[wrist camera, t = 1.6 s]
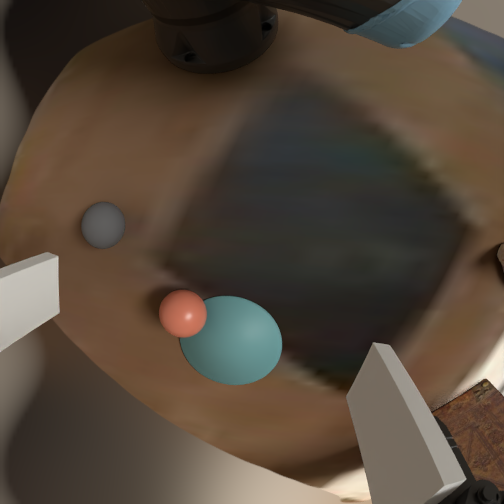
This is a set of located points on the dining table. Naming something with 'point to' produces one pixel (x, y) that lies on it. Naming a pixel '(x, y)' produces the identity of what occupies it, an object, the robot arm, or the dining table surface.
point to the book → (478, 430)
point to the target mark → (234, 342)
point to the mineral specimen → (501, 255)
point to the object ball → (182, 313)
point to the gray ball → (103, 225)
